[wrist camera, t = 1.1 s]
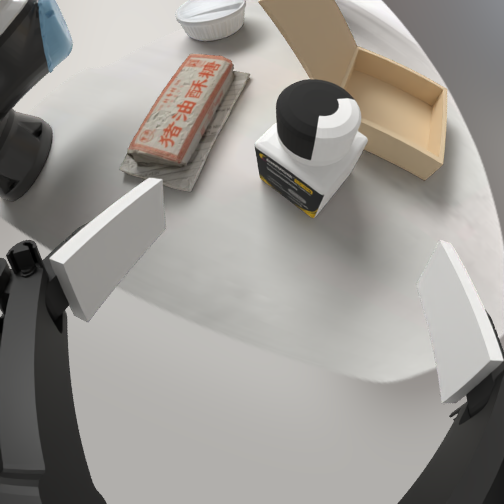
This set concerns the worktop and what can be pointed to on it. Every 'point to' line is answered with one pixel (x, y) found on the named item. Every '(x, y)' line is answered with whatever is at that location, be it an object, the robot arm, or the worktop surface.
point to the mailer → (368, 85)
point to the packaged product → (185, 122)
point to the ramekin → (211, 18)
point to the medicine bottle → (311, 143)
